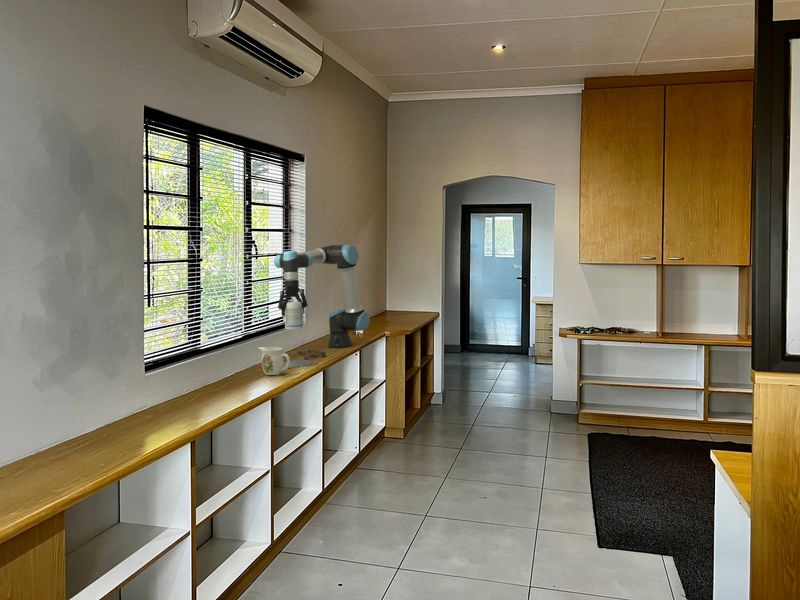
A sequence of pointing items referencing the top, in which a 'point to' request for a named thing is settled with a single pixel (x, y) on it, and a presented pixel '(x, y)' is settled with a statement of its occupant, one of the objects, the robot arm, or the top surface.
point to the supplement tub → (294, 316)
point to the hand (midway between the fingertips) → (293, 320)
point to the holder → (309, 354)
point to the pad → (299, 363)
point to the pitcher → (273, 360)
